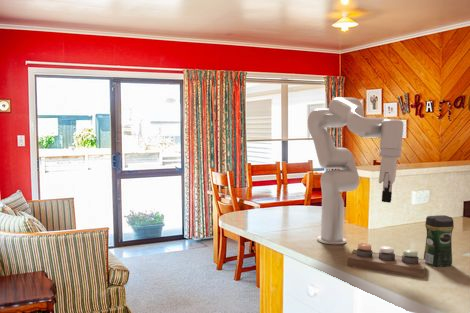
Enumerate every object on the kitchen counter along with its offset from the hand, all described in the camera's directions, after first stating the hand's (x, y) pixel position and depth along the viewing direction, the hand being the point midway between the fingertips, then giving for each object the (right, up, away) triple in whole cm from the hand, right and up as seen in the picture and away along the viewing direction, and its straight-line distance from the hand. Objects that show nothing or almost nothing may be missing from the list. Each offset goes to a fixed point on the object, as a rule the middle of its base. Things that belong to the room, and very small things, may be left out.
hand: (386, 201), depth 165 cm
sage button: (+7, -19, -5) cm, 20 cm away
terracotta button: (-8, -18, +1) cm, 19 cm away
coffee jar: (+20, -24, +3) cm, 32 cm away
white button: (0, -18, -2) cm, 18 cm away
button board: (-1, -24, -2) cm, 24 cm away
